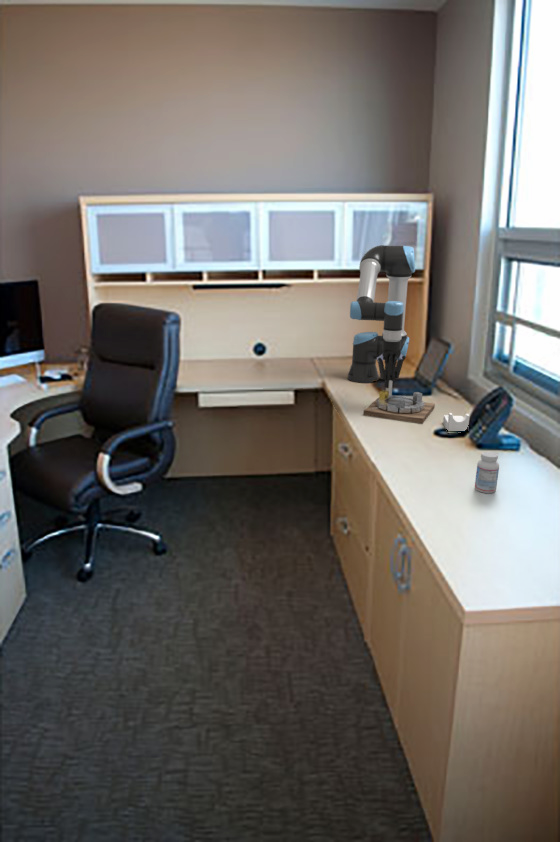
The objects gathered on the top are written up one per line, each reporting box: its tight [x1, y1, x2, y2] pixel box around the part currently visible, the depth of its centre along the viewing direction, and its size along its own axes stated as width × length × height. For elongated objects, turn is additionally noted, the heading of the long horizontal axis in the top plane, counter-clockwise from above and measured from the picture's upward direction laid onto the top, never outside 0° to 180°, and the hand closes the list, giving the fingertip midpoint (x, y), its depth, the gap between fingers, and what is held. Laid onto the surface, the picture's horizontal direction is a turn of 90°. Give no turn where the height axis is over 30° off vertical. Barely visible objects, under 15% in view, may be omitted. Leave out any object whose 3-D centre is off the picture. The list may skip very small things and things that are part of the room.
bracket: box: [442, 412, 470, 431], centre depth 240 cm, size 13×7×8 cm, turn 174°
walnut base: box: [363, 397, 436, 424], centre depth 261 cm, size 24×24×4 cm
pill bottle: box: [474, 450, 500, 494], centre depth 184 cm, size 6×6×11 cm
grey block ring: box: [376, 389, 425, 413], centre depth 260 cm, size 19×19×5 cm
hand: (388, 395), depth 266 cm, fingers closed
